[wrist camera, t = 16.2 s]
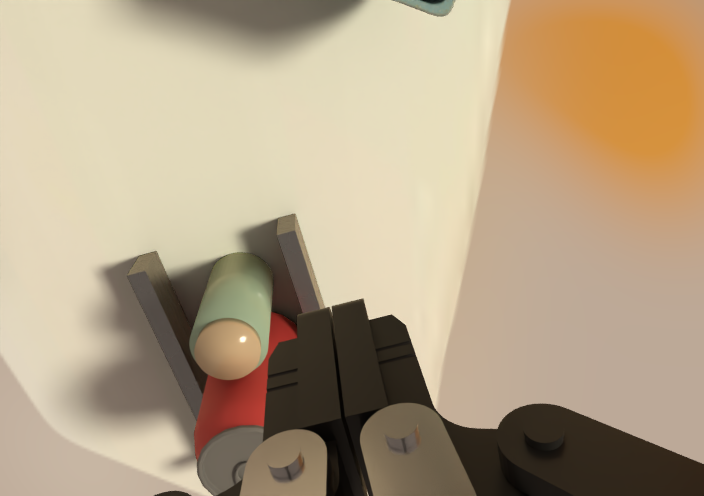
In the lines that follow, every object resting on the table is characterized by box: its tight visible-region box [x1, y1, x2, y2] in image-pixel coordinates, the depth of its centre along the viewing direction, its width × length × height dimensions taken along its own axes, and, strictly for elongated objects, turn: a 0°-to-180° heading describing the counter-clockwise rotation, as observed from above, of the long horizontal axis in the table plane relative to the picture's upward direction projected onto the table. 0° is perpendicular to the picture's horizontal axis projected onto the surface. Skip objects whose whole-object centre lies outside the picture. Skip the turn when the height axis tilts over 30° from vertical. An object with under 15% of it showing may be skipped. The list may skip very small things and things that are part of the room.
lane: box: [127, 214, 325, 421], centre depth 38 cm, size 18×11×5 cm, turn 14°
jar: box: [189, 252, 274, 380], centre depth 34 cm, size 4×4×9 cm
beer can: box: [194, 312, 297, 496], centre depth 35 cm, size 7×7×12 cm
